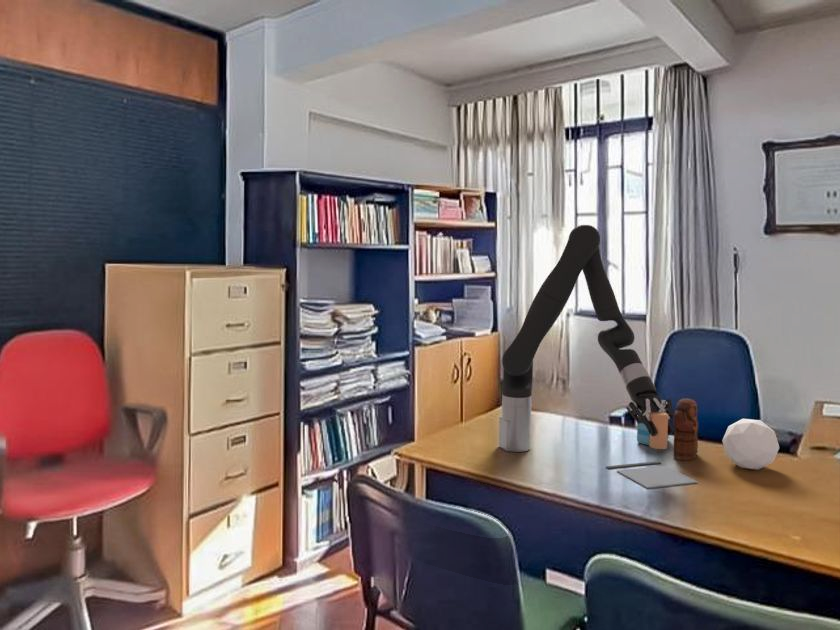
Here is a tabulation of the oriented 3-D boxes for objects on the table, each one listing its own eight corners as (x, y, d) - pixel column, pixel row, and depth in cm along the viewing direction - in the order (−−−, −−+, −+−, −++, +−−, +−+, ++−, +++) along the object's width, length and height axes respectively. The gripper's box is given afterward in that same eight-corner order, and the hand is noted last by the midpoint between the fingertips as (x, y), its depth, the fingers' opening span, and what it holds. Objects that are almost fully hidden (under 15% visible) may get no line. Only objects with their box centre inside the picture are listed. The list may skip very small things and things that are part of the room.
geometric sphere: (763, 486, 193) (798, 454, 185) (717, 469, 192) (750, 436, 183) (750, 450, 205) (782, 419, 196) (707, 434, 203) (737, 401, 195)
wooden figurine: (692, 463, 198) (695, 403, 196) (670, 459, 202) (672, 401, 200) (700, 453, 208) (703, 396, 206) (678, 449, 211) (681, 394, 210)
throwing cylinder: (656, 449, 182) (657, 416, 181) (646, 445, 186) (647, 412, 185) (670, 448, 183) (671, 415, 182) (660, 443, 187) (661, 411, 186)
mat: (644, 489, 176) (644, 487, 176) (605, 467, 193) (605, 466, 193) (700, 482, 181) (700, 481, 181) (658, 462, 198) (658, 461, 198)
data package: (648, 446, 214) (650, 410, 213) (636, 443, 218) (637, 407, 217) (668, 440, 222) (670, 405, 221) (656, 437, 225) (658, 402, 224)
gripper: (622, 376, 188) (647, 429, 177) (665, 373, 192) (692, 425, 181) (611, 391, 193) (634, 443, 183) (652, 388, 197) (678, 438, 187)
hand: (663, 433), depth 182 cm, fingers closed on throwing cylinder, 4 cm apart
